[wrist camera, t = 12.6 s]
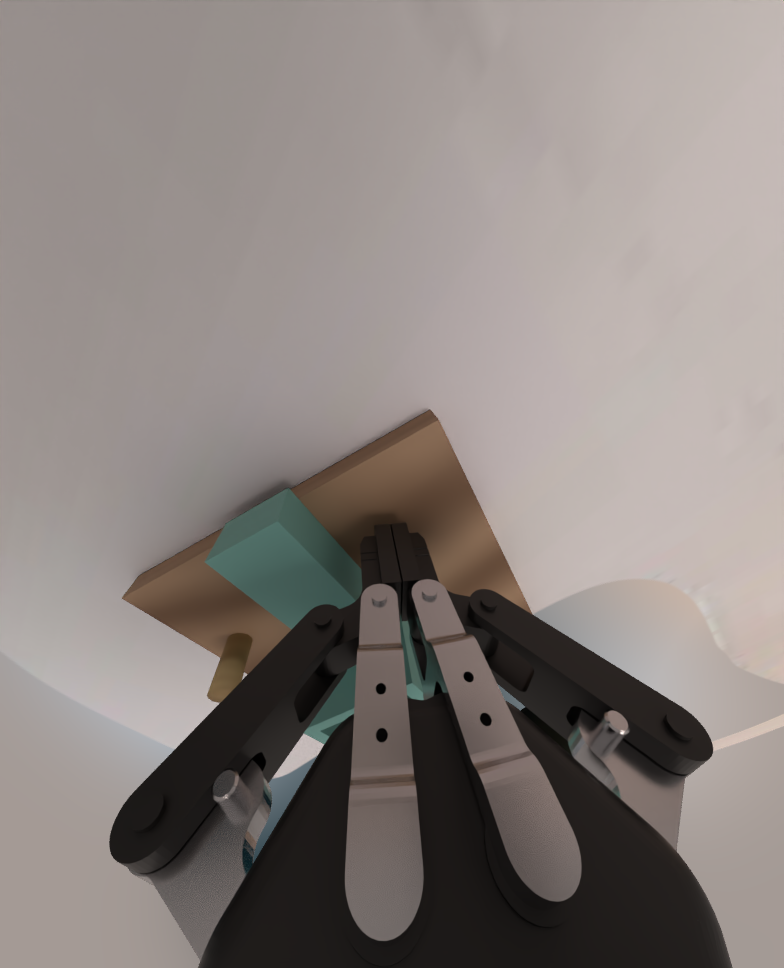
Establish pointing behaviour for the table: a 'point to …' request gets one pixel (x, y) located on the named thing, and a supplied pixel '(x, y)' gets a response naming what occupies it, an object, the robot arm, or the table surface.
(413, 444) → the base
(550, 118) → the table surface
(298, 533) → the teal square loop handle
